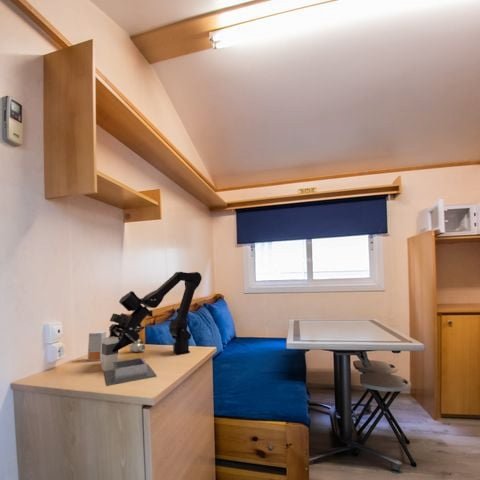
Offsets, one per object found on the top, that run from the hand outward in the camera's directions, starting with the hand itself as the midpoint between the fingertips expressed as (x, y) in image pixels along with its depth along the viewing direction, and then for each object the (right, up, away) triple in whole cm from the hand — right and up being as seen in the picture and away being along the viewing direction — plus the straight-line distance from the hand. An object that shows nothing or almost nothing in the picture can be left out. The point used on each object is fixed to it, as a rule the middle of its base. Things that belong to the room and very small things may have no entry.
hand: (108, 349), depth 113 cm
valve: (+2, -11, +26) cm, 28 cm away
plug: (+1, -7, -1) cm, 7 cm away
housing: (+12, -6, -8) cm, 15 cm away
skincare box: (-12, -10, +14) cm, 21 cm away
